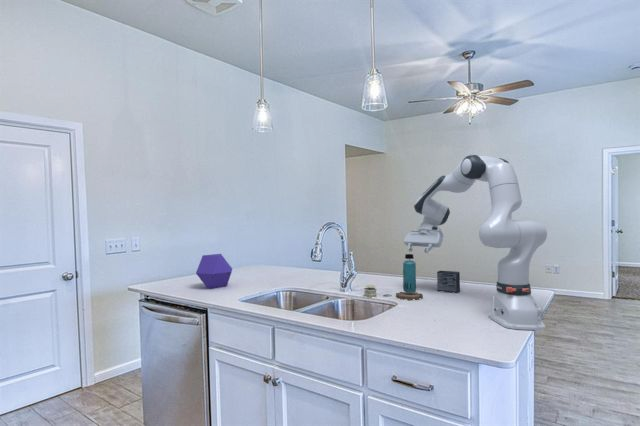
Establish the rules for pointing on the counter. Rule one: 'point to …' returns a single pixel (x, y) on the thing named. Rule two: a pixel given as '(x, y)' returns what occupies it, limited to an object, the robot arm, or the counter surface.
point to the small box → (448, 281)
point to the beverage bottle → (409, 274)
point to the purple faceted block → (214, 271)
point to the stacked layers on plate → (370, 291)
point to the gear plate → (409, 295)
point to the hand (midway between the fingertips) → (417, 251)
